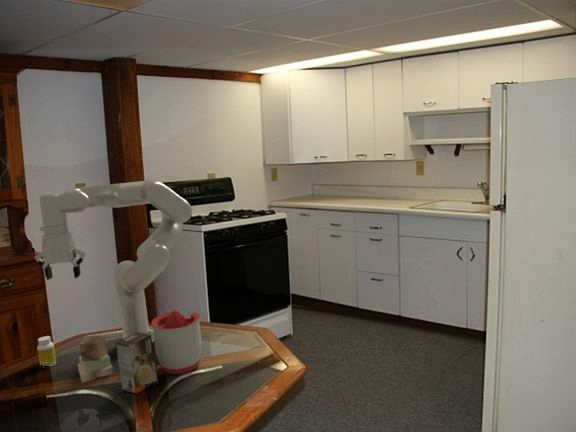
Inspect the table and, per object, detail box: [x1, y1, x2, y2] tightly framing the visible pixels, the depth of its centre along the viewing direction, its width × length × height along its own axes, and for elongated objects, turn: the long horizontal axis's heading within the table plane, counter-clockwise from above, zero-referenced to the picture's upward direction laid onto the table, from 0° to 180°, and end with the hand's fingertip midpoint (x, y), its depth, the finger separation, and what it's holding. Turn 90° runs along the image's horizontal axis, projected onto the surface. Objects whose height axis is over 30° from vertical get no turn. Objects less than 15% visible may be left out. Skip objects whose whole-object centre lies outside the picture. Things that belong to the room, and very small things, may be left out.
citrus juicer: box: [151, 309, 202, 375], centre depth 181 cm, size 16×17×20 cm
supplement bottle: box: [36, 335, 57, 367], centre depth 191 cm, size 5×5×10 cm
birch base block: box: [77, 363, 114, 383], centre depth 182 cm, size 10×10×3 cm
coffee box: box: [115, 332, 158, 390], centre depth 169 cm, size 9×6×16 cm
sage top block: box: [78, 352, 112, 373], centre depth 182 cm, size 8×8×3 cm
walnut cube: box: [79, 335, 108, 361], centre depth 181 cm, size 6×6×6 cm
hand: (63, 277), depth 188 cm, fingers open, 9 cm apart
